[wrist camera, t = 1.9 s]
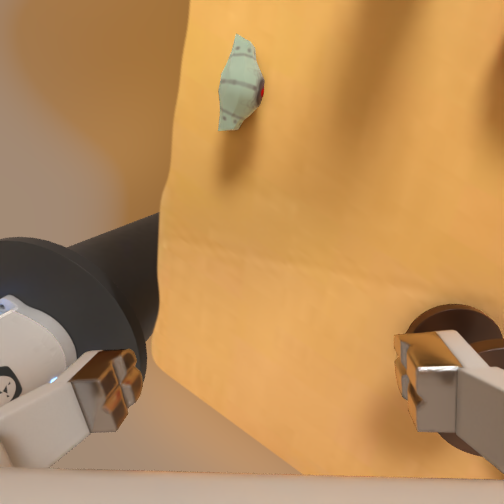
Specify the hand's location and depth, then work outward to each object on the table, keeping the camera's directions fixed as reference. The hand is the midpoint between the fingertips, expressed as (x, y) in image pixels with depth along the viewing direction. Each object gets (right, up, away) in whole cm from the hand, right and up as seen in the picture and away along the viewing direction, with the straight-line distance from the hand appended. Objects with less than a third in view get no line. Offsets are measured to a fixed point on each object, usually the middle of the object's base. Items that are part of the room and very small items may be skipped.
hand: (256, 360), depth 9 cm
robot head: (0, +20, +22) cm, 30 cm away
